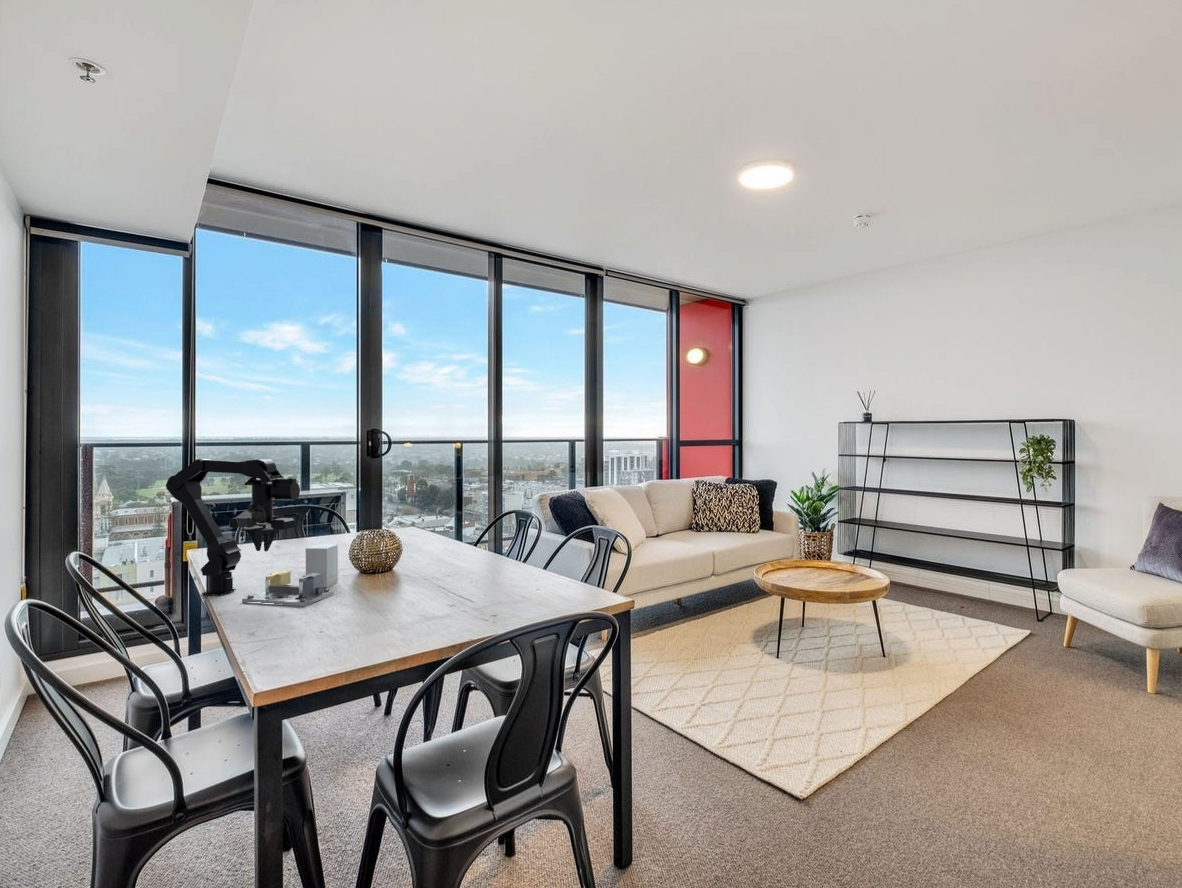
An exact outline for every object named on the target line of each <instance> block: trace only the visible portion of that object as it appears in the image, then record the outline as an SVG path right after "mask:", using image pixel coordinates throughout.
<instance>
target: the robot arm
mask: <svg viewBox="0 0 1182 888" xmlns="http://www.w3.org/2000/svg"><path fill="white" fill-rule="evenodd" d="M209 473H221V474H223V473H224V474H225V473H226V474H238V475H242V476H245V477H249V479H248V480H246V481H245V482H244V484H243V485H244V486H251V503H249V504H248V505H247V510H245V511H242V512H241V513H240V514H238V515H237V516H236V517H232V518H230V520H229V522H228V523H229V527H228V528H231V529H238V528H242V531H244V532H246V533H248V535H249V536H250V538H251V540H252V543H253V545H254V548H255V550H256V551H257V552H259V551H261V549H262V544H263V551H264V552H268V551H269V550H270V547H271V545H272V544H273V541H274V539H275V538H276V536H277V534H278V533H279V531H280V530H287V529H293V528H295V527H296V520H295V519H294V518H293V517H281V518H277V516H276V515H274V507H276V506H277V503H276V502H274V500H276V501H297V500H298V499H299V497H300V493H301V488H300V485H299V483H298V482H297V478H296V477H291V478H284V476H283V475H282V473H280V471H279V470H278V468H277V464H276V463H275V461H274V460H273V459H270V458H262V459H261V458H260V459H259V458H258V459H250V460H242V461H241V460H226V459H225V460H224V459H223V460H222V459H210V458H198V459H195V460H193V461H192V462H191V463H190V464H189V465H188V466H186V467H184V468H183V469H181V470H180V471H178V472H176V474H174V475H171V476H170V477H168V479H167V481H166V484H165V488H166V489H167V491H168V493H170V495H171V496H172V497H173V499H175V500H177V501H178V502H179V503H181V504H182V505H183V506H184V507H185V509H186V511H187V512H188V514H189V516H190V518H191V519H192V521H193V523H194V525H195V526H196V529H197V530H198V531H199V534H200V535H201V537H202V539H203V541H204V542H205V544H206V557H207V560H208V561H207V562H206V563H205V564H203V566H202V567H201V568H200V572H201V574H202V576H204V577H205V576H206V577H205V578H206V581H205V587H206V588H205V591H204V592H202V593H201V594H202V595H205V596H223V595H225V593H226V594H229V593H232V592H235V591H237V590H236V588H234V587H233V585H234V584H233V583H234V582H233V581H234V580H233V579H234V578H233V574H232V573H233V572H232V571H235V570H236V568H237V565H238V564H239V562H240V561H241V558H242V554H241V551H242V549H241V548H239V546H238V544H237V541H236V540H235V539H230V540H229V539H227V538H226V537H225V536H224V535H223V533H222V531H221V529H220V528H219V526H218V524H217V523H216V521H215V519H214V518H213V515H212V514H211V512H210V510H209V508H208V507H207V505H206V503H205V501H204V500H203V498H202V491H203V489H202V486H201V483H202V482H203V481H204V480H205V479H206V477H207V475H208V474H209ZM234 590H235V591H234ZM231 591H232V592H231ZM228 592H229V593H228ZM222 594H223V595H222Z"/></svg>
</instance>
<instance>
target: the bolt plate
mask: <svg viewBox="0 0 1182 888" xmlns="http://www.w3.org/2000/svg"><path fill="white" fill-rule="evenodd" d="M333 594H334V595H335V590H330V588H324V587H323V573H310V574H307V575H306V574H304V575H302V577H300V578H298V585H292V584H291V585H290V584H287V585H284V586H281V587H279V586H270V584H269V595H265V590H264V591H263V590H262V591H260V592H258V593H254V594H248V595H247V596H246V597H242V599H241V603H242V602H261V603H274V604H282V605H290V606H289V607H296V606H301V607H300V608H305V607H308V606H310V605H312V604H315V603H317V602H319V601H318V600H320V601H322V600H324V599H326V597H327V598H329V597H331V595H332V596H334V595H333ZM328 596H329V597H328ZM323 598H324V599H323ZM321 599H322V600H321ZM316 601H317V602H316ZM314 602H315V603H314ZM309 604H310V605H309ZM282 605H281V606H282ZM307 605H308V606H307ZM304 606H305V607H304Z"/></svg>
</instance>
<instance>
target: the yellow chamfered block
mask: <svg viewBox="0 0 1182 888" xmlns="http://www.w3.org/2000/svg"><path fill="white" fill-rule="evenodd" d="M291 576H292V575H291V571H288V570H279V571H278V570H277V571H276V572H271V573H269V575H266V576H265V583H264V584H265V590H264V591H265V595H269V585H270V586H279V587H281V586H284V585H290V584H291Z"/></svg>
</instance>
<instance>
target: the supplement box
mask: <svg viewBox="0 0 1182 888" xmlns="http://www.w3.org/2000/svg"><path fill="white" fill-rule="evenodd" d="M338 546H339V545H338V544H324V543H323V544H321V543H318V544H314V545H311V546H309V547H306V548H305V575H307V574H310V573H323V588H328V587H331V586H333V585H335V584H337V583H339V551H338V549H339V547H338Z"/></svg>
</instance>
